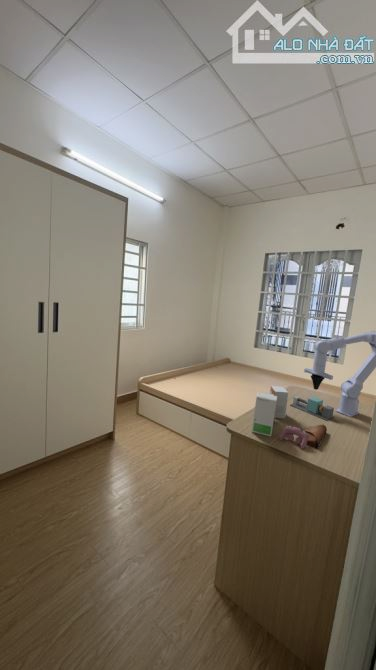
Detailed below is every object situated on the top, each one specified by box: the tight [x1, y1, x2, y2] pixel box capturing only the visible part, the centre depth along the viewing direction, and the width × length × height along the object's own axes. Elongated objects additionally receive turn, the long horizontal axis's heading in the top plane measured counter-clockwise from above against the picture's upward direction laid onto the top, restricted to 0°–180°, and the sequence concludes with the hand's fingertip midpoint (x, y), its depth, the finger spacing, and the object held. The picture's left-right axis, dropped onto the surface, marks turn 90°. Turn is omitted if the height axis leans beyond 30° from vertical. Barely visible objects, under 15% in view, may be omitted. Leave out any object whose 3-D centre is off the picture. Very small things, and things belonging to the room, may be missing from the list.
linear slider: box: [292, 396, 335, 420], centre depth 142 cm, size 4×20×5 cm, turn 35°
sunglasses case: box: [303, 424, 328, 450], centre depth 115 cm, size 18×7×7 cm
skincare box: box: [251, 391, 277, 438], centre depth 116 cm, size 8×7×16 cm
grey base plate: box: [289, 401, 336, 421], centre depth 142 cm, size 8×20×1 cm, turn 36°
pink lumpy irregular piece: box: [279, 425, 309, 450], centre depth 109 cm, size 10×5×7 cm, turn 47°
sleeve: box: [306, 396, 324, 413], centre depth 141 cm, size 6×5×6 cm
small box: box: [269, 385, 289, 419], centre depth 134 cm, size 8×6×13 cm
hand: (315, 389), depth 145 cm, fingers closed
